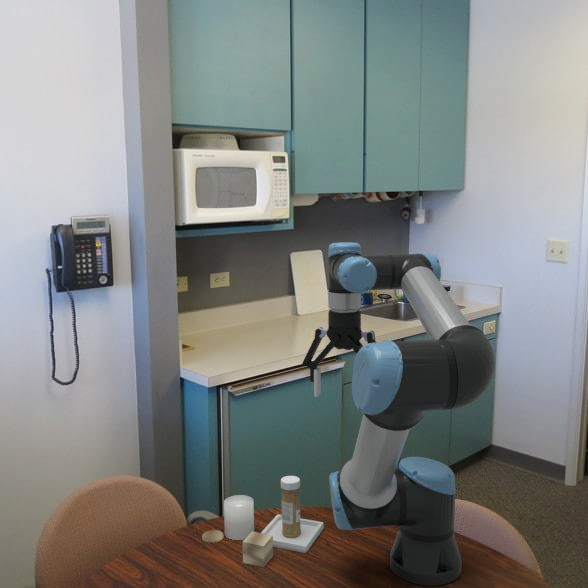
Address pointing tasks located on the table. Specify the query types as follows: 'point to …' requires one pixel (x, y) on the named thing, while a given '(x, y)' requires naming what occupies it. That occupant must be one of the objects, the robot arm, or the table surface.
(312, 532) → the tray
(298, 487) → the sprinkles bottle
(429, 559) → the robot arm
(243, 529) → the frosted white cylinder
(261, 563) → the maple block
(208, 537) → the cork coaster
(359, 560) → the table surface
